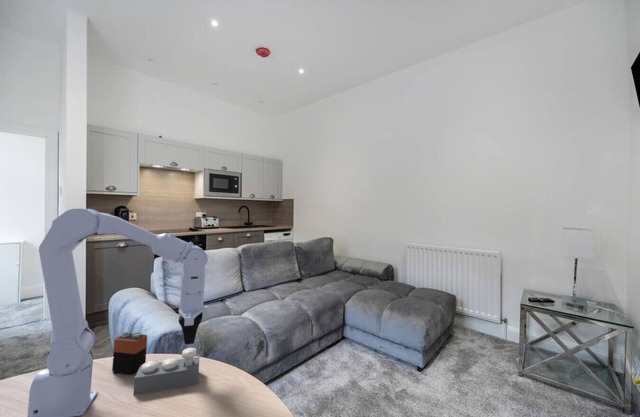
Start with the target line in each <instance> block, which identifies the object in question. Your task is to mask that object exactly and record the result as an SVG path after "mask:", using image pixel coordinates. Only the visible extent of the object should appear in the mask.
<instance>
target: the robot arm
mask: <svg viewBox="0 0 640 417" xmlns="http://www.w3.org/2000/svg"><path fill="white" fill-rule="evenodd" d="M95 234H97V235H109V234H110V235H111V234H115V235H119V236H122V237H125V238H126V239H129V240H132V241H134V242H138V243H140V244H143V245H146V246H149V247H150V248H151V251H152V254H154V255H156V256H159V257H162V258H165V259H167V260H169V261H172V262H175V263H176V264H179V263H182V265H183V266H182V274H181V282H180V298H179V299H180V300H179V308H178V313H179V317H178V324H179V325H180V327H181V329H182V333H183V335H182V336H183V341H184V344H185V345H192V344H194V343H195V342H196V341H195V340H196V336H197V331H198V329H199V326H200V324H201V322H202V321H203V314H204V313H203V312H205V311H208V305H204V298H205V283H206V282H205V279H206V274H205V271H206V265H207V264H208V256H207V253H206V251H205V250H203V248H201V247H199V246H198V245H196V244H194V243H193V242H192V241H189V242H187V241H185V240H182V239H181V238H178V237H176V236H177V235H176V234H174V233H173V232H170V233H167V232H164V233H161V234H156V233H153V232H151V231H149V230H147V229H145V228H143V227H140V226H138V225H136V224H134V223H132V222H130V221H127V220H126V219H123V218H121V217H119V216H115V215H113V214H109V213H105V212H100V211H98V210H96V209H93V208H81V207H80V208H78V207H77V208H76V207H75V208H71V209H68V210H65V211H64V212H63V213H61V214H60V215H59V216H57V217H55V219H53V220H52V222H51V226H50V228H49V230H48V232H47V233H46V235H45V236H44V238H43V240H42V241H41V243H40V244H39V247H38V253H39V259H40V264H41V269H42V270H41V271H42V276H43V280H44V281H43V283H44V287H45V293H46V299H47V303H48V308H49V310H48V311H49V315H50V320H51V327H52V331H51V335H50V340H49V354H48V356H47V357H46V364H45V365H46V368H43V369H41V370H40V371H39V370H38V372H37V373H36V375H35V376H34V377H33V380H32V382H31V384H30V387H29V394H28V407H27V417H79V416H83V415H85V413H86V411H87V409H88V408H89V406H90V405H91V404H92V402H93V400H94V399H95V397H96V396H97V394H98V390H92V379H93V377H92V376H93V364H94V358H93V356H92V355H91V353H90V351H91V349H92V348H93V347H94V345H95V343H96V334H95V333H94V332H93V330H91V329H90V327H89V322H88V321H87V320H86V319H85V317H84V313H83V307H82V301H81V296H80V289H79V283H78V277H77V272H76V266H75V260H74V254H73V252H74V250H75V249H76V248H77V247H79V245H81V243H82V242H84V240H86V239H87V238H89V237H92V236H93V235H95Z"/></svg>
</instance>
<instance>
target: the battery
mask: <svg viewBox="0 0 640 417" xmlns="http://www.w3.org/2000/svg"><path fill="white" fill-rule="evenodd" d="M113 342H114V343H113V356H112V367H111V368H112V369H111V371H112V373H114V374H115V373H116V374H123V375H131V376H133V375H136V374H137V372H138V370H139V368H140V366H141V365H143V364H144V363H146V360H147V359H146V358H147V348H148V347H147V346H148V335H147V334H142V332H140V331H139V332H138V331H137V332H133V333H132V332H131V333H130V332H129V331H125V332H123V333H122V335H120V336H117V337H116V338H115V339H114V341H113ZM113 357H114V358H113Z"/></svg>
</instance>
